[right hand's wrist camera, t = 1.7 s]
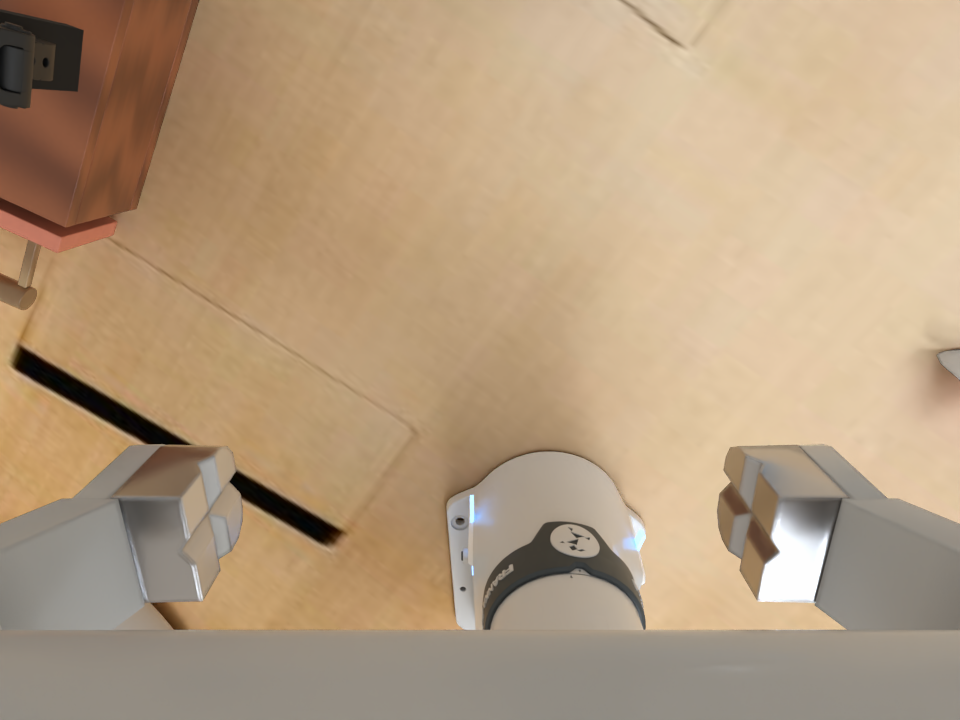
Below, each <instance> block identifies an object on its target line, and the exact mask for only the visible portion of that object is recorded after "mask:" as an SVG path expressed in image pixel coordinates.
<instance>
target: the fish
mask: <svg viewBox="0 0 960 720" xmlns="http://www.w3.org/2000/svg"><path fill="white" fill-rule="evenodd" d="M937 357H938V359H939V361H940V363H941V364H942V365H943V366H944V367H945V368H946V369H947V370H948V371H949V372H951V373H952V374H953V375H954V376H956V377H957V378H958V379H959V380H960V349H955V350H949V351H944V352H941V353H939V354H937Z"/></svg>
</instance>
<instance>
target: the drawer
mask: <svg viewBox="0 0 960 720" xmlns="http://www.w3.org/2000/svg"><path fill="white" fill-rule="evenodd" d="M116 224H117V221H115V220H113V219H111V218H109V217H107V216H106V217H102V218H99V219H95V220H91V221H87V222H83V223H80V224H76V225H73V226H69V227H63V226H61V225H59V224H57V223H55V222H53V221H50V220H48V219H46V218H44V217H42V216H40V215H37V214H35V213H33V212H31V211H29V210H27V209H24V208H22V207H20V206H18V205H16V204H13V203H11V202H9V201H7V200H5V199H3V198H0V227H1V228H3V229H6V230H8V231H10V232H12V233H14V234H17V235H19V236H21V237H23V238H25V239H28V244H27V248H26V252H25V256H24V260H23V264H22V268H21V272H20V277H19V281H17V280H15V279H12V278H10V277H8V276H6V275H3V274H1V273H0V301H2V302H4V303H6V304H9V305H11V306H13V307H16V308H18V309H20V310H26V309H28V308H29V307H30V306H31V305H32V304H33V303H34V301H35V299H36V296H37V290H36V289H35V288H33V287H31V284H32V280H33V276H34V272H35V268H36V264H37V260H38V256H39V252H40V248H41V246H43V247H45V248H48V249H50V250H52V251H54V252H56V253H59V252H62V251H65V250H68V249H71V248H74V247H77V246H81V245H84V244H87V243H90V242H93V241H96V240H99V239H102V238H106V237H109V236H112V235H114V231H115V228H116Z"/></svg>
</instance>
